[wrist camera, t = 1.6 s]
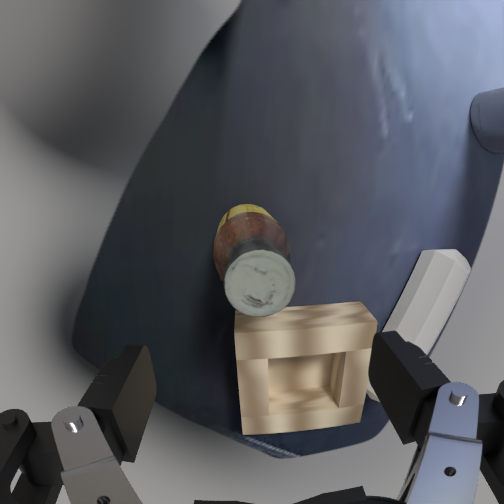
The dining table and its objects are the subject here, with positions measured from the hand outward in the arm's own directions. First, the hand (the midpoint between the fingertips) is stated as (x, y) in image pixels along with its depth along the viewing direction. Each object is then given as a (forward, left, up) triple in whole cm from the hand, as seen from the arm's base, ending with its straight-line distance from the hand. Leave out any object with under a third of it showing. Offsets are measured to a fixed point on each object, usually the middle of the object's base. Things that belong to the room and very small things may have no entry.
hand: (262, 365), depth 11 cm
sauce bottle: (0, 0, -27) cm, 27 cm away
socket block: (-6, +18, -27) cm, 33 cm away
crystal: (-22, +14, -28) cm, 38 cm away
